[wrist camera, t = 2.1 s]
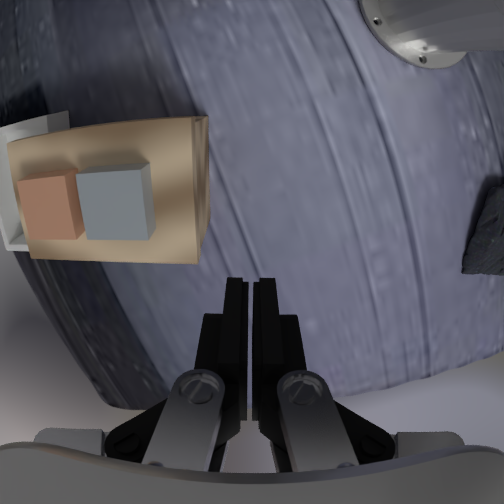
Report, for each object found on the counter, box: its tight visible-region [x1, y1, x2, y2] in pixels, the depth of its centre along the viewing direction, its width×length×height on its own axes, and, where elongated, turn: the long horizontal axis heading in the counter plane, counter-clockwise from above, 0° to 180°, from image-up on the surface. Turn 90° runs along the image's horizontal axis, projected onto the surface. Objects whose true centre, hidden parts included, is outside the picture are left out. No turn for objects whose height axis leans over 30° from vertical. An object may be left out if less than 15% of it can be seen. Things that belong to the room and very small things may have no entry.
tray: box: [0, 110, 70, 251], centre depth 27 cm, size 14×10×4 cm
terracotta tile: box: [17, 168, 85, 240], centre depth 21 cm, size 5×5×2 cm
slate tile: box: [76, 163, 156, 240], centre depth 21 cm, size 5×5×2 cm
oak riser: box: [7, 116, 210, 264], centre depth 25 cm, size 11×16×8 cm, turn 89°
